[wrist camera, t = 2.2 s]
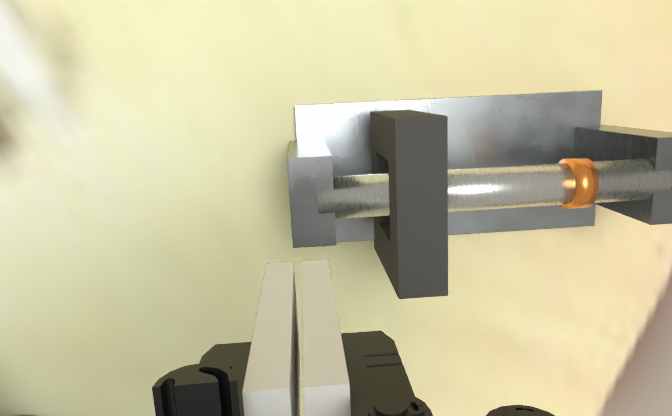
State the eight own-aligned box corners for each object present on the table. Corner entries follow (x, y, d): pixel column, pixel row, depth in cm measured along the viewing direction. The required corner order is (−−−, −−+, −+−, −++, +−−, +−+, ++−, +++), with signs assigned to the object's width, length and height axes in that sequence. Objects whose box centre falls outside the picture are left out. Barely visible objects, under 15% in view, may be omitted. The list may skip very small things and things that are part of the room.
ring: (374, 247, 36) (399, 299, 27) (370, 111, 34) (395, 118, 25) (411, 245, 36) (447, 295, 27) (409, 109, 34) (447, 115, 25)
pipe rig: (296, 241, 40) (295, 293, 30) (287, 105, 38) (283, 111, 28) (594, 222, 41) (692, 265, 31) (602, 90, 39) (709, 89, 29)
